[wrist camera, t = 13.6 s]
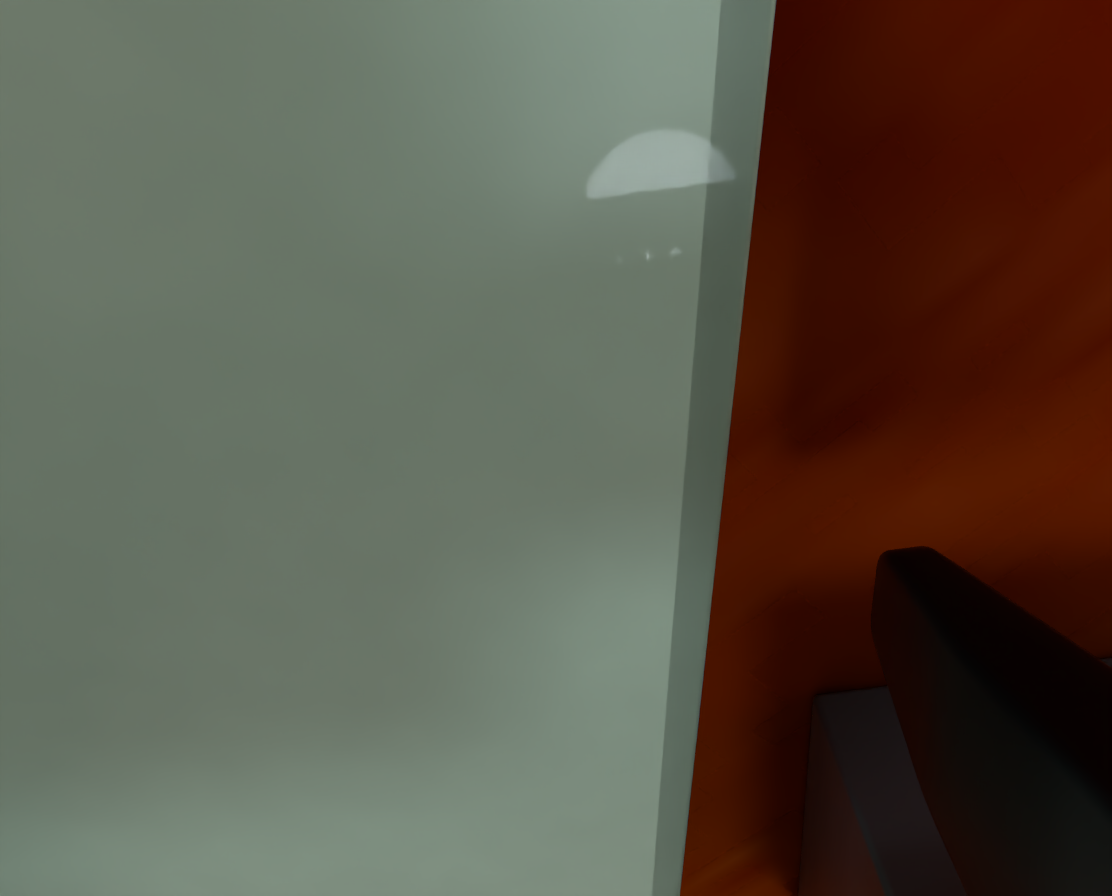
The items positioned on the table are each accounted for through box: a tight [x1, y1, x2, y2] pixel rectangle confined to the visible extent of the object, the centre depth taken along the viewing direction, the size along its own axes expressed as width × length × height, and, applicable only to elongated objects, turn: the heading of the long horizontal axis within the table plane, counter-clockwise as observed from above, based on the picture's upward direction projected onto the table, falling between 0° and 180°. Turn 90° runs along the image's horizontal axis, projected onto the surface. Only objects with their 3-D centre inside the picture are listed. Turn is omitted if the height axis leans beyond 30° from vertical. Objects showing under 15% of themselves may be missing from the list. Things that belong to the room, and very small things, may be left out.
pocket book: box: [0, 0, 776, 896], centre depth 8 cm, size 14×7×3 cm, turn 1°
